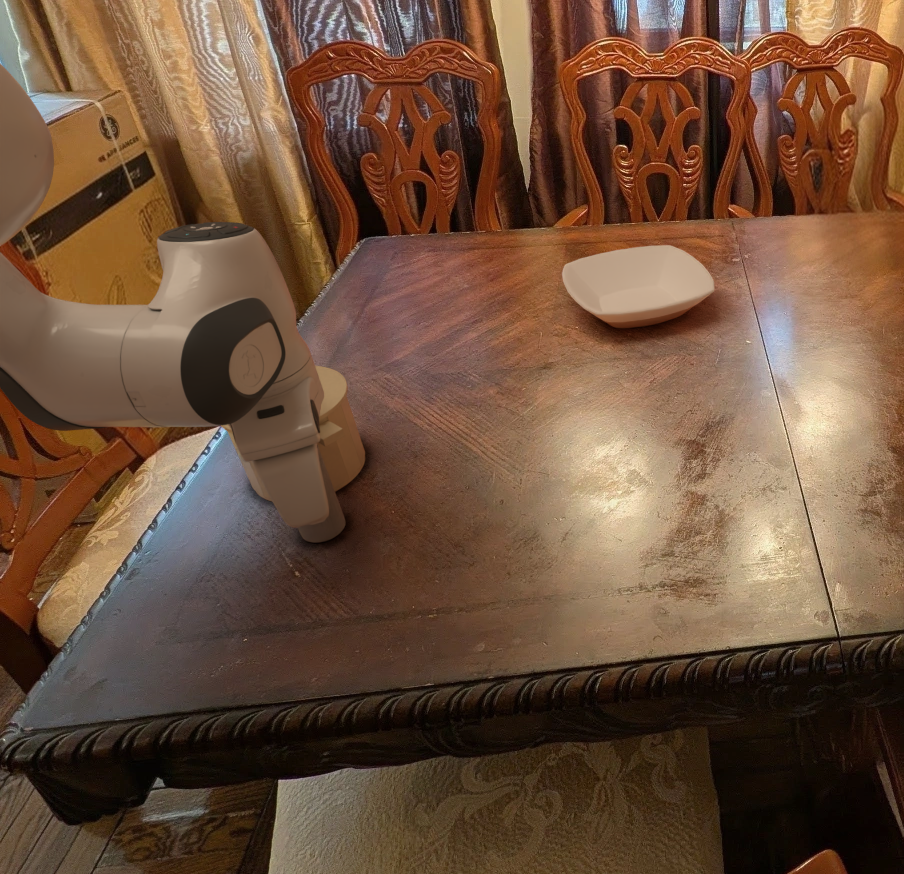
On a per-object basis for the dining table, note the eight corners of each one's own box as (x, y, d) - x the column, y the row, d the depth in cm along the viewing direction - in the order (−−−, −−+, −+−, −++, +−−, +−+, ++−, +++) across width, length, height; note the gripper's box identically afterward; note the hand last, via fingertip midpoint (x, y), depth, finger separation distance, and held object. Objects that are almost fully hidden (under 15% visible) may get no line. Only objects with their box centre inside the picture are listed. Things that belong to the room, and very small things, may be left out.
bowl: (731, 324, 119) (731, 292, 116) (591, 355, 113) (587, 321, 110) (678, 268, 135) (677, 238, 132) (553, 292, 129) (549, 261, 126)
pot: (305, 528, 85) (276, 458, 80) (220, 467, 94) (188, 400, 88) (401, 469, 93) (381, 401, 87) (314, 418, 102) (290, 353, 96)
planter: (355, 520, 86) (327, 443, 80) (325, 547, 83) (294, 469, 76) (322, 510, 87) (292, 433, 81) (291, 536, 84) (258, 459, 78)
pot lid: (261, 457, 81) (247, 424, 78) (196, 413, 87) (181, 382, 85) (374, 397, 89) (364, 365, 87) (306, 361, 96) (295, 331, 93)
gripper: (228, 349, 81) (273, 457, 89) (238, 459, 66) (290, 576, 74) (294, 334, 83) (332, 441, 91) (318, 437, 68) (360, 553, 77)
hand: (313, 502), depth 83 cm, fingers closed on planter, 4 cm apart
